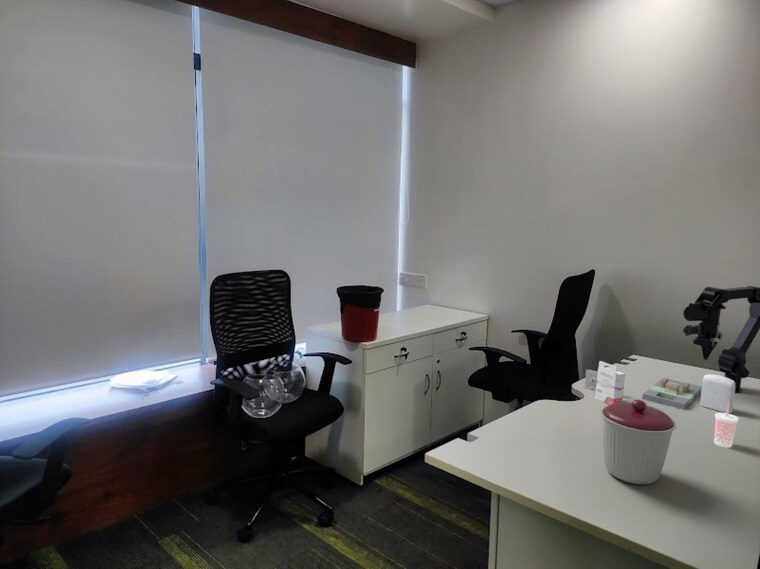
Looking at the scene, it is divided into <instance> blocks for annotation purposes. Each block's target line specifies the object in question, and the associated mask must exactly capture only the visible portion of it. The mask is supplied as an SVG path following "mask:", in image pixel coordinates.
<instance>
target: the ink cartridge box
mask: <svg viewBox="0 0 760 569" xmlns="http://www.w3.org/2000/svg"><path fill="white" fill-rule="evenodd" d="M597 372H598V374H597V385H596V391H595V397H594V398H595V399H596V400H597V401H601V402H602V403H605V404H606V405H611V404H614V403H623V402H624V401H623V400H624V388H625V379H626V374H625V373H624V372H621V371H618V367H617V366H615V365H613V364H610V363H607V362H605V361H601V360H599V362H598V369H597Z"/></svg>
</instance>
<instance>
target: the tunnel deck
mask: <svg viewBox="0 0 760 569" xmlns="http://www.w3.org/2000/svg"><path fill="white" fill-rule="evenodd" d="M667 382H672V383H676V384H680V388H679V392H678V393H677V394H676V395H675V394H671V393H667V392H664V391H665V384H666V383H667ZM701 391H702V385H697V384H696V385H695V384H693V383H690V382H684V381H679V380H673V379H669V377H662V378H661V379H660V380H657V382H656V383H655V384H653V385H652V386H651V387H649V388H648V389H647V390H645V391H644V392H643V393H642V396H641V397H642V398H641V400H643V401H644V400H645V401H650V402H653V403H655V404H656V403H657V404H660V405H665V406H669V407H672V408H675V409H679V410H684V411H685V409H686V408H687V407H688V406H689V405H690V404H691V403H692V402H693V401H694V400H695V399H697V397H698V395H700V394H701Z"/></svg>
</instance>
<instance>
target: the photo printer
mask: <svg viewBox="0 0 760 569" xmlns="http://www.w3.org/2000/svg"><path fill="white" fill-rule="evenodd" d="M701 387H702V390H701V392H700V402H699V406H700V407H703V408H704V407H705V408H707V409H709V410H710V409H711V410H715V411H718V412H720V413H726V412H727V405H728V401H730V404H729V411H728V414H732V413H733V410H734V402H735V400H734V399H735V393H736V392H735V382H734V381H733V380H731V379H729V378H726V377H724V376H723V375H719V374H704V376H703V379H702V384H701Z"/></svg>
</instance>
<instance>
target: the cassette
mask: <svg viewBox="0 0 760 569" xmlns="http://www.w3.org/2000/svg"><path fill="white" fill-rule="evenodd" d="M597 374H598V370H597V371H596V370H591V369H586V370H585V378H584V389H586V390H588V391H593V392H596V385H597Z"/></svg>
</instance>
